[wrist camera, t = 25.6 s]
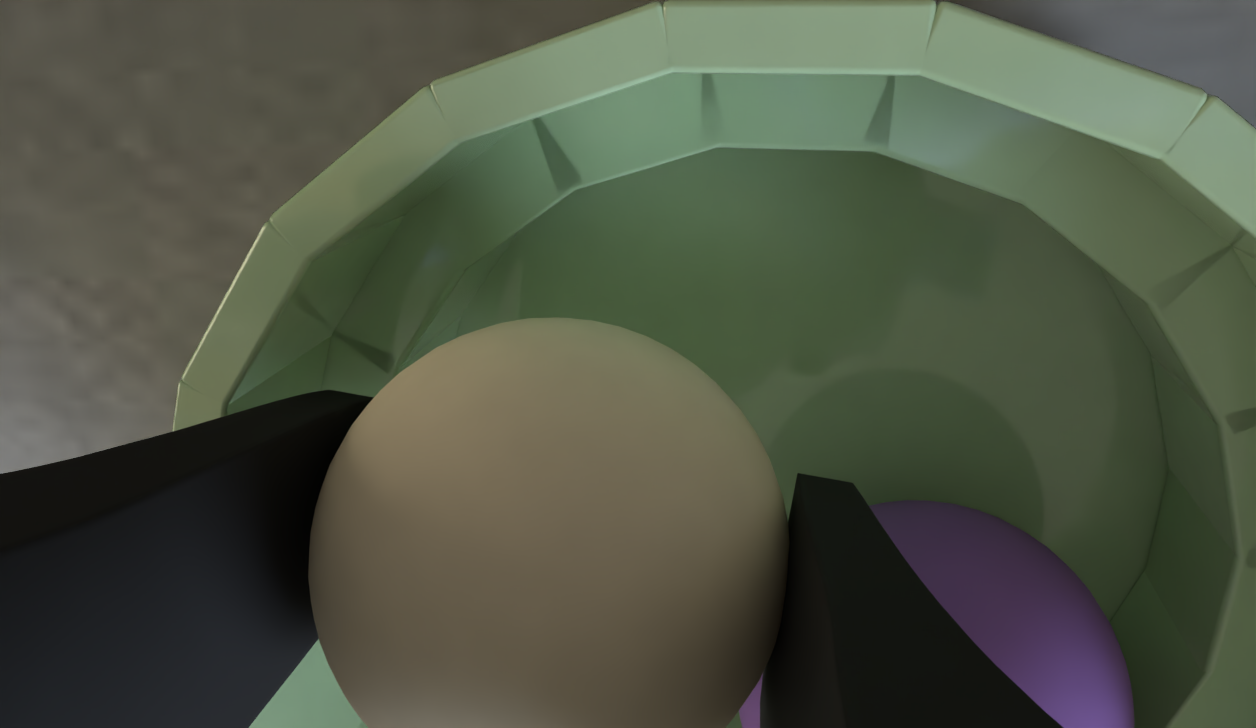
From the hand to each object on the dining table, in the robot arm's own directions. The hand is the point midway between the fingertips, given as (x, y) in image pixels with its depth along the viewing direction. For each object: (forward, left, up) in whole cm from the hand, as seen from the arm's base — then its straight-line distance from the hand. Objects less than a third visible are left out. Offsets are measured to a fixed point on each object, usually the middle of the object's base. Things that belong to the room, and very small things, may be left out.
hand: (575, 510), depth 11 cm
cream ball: (0, 0, +1) cm, 1 cm away
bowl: (0, +3, -5) cm, 5 cm away
